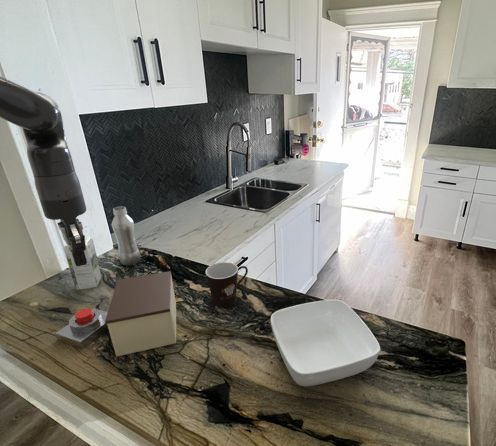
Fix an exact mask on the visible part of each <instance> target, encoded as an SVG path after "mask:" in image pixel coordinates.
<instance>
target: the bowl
mask: <svg viewBox="0 0 496 446" xmlns="http://www.w3.org/2000/svg"><path fill="white" fill-rule="evenodd" d="M270 327H271V331H272V334H273V337H274V341H275V345H276V347H277V348H278V352H279V353H280V355H281V359H282V360H283V363H284V364H285V365H284V366H285V367H286V369H287V372H288V373H289V375H290V377H291V378H292V380H293V381H294V382H295V384H297V385H298V386H300V387H314V386H317V385H322V384H327V383H332V382H334V381H338V380H341V379H346V378H348V377H351V376H355V375H357V374H360V373H362V372H364V371H367V370H368V369H370V368H371V367H372V366H373V365H374V364H375V362H376V361H377V359H378V357H379V356H380V353H381V346H380V345H381V344H380V343H379V341H378V340H377V338H376V336H375V335H374V334H373V332H372V331H371V329H370V327H368V325H367V324H366V323H365V322H364V321H363V320H362V318H361V317H360V316H359V315H358V314H357V312H355V310H354V309H353V308H352V307H351V306H349V304H347V303H346V302H344V301H343V300H340V299H325V300H318V301H311V302H305V303H300V304H296V305H293V306H288V307H285V308H280V309H278V310H276V311H274V312H273V313H272V314H271V316H270Z"/></svg>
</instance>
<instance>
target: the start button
mask: <svg viewBox="0 0 496 446" xmlns="http://www.w3.org/2000/svg"><path fill="white" fill-rule="evenodd" d="M74 315H75V318H76V321H77V323H78V324H82V323H86V322H89V321H91V320H92V319H93V318H94V314H93V310H92V308H89V307H87V308H83V309H80V310H78V311H77V312H76V313H75V314H74Z"/></svg>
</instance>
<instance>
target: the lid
mask: <svg viewBox="0 0 496 446" xmlns="http://www.w3.org/2000/svg"><path fill="white" fill-rule="evenodd" d="M171 276H172V272H171V270H169V271H163V272H157V273H151V274H143V275H137V276H132V277H131V276H130V277H125V278H119V279H117V280H116V283H115V286H114V290H113V294H112V296H111V299H110V304H109V307H108V310H107V312H108V313H107V316H106V320H105V323H106V324H109V323H114V322H119V321H125V320H130V319H135V318H140V317H145V316H150V315H155V314H160V313H166V312H170V298H171Z"/></svg>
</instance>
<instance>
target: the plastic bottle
mask: <svg viewBox="0 0 496 446" xmlns="http://www.w3.org/2000/svg"><path fill="white" fill-rule="evenodd" d="M112 211H113V212H112V213H113V219H112V221H111V228H112V230H113V234H114V235H115V238H116V242H117V248H118V260H119V262H120V263H121V264H122V265H123V266H133V265H137V264H138V263H139V262H140V260H141V252H140V250H139V247H138V244H137V242H136V241H137V240H136V235H135V221H134V219H133V218H132V217H131V216H129V215H128V210H127V208H126V206H123V205H120V206H116V207H113V209H112Z"/></svg>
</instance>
